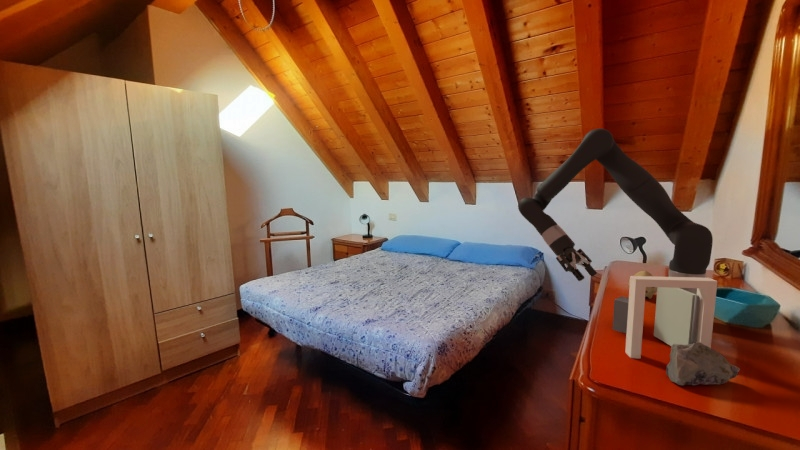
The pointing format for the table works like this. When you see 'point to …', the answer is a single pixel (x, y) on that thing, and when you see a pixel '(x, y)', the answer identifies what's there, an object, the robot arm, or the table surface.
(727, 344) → the table surface
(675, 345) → the mineral rock
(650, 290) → the toy pig
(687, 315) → the door
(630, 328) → the door frame
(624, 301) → the block
